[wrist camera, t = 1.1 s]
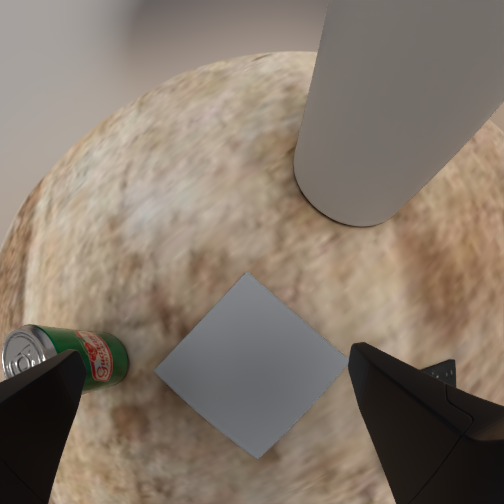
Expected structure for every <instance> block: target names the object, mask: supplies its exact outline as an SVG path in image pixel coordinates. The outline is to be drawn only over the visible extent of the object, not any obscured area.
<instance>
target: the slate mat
mask: <svg viewBox="0 0 504 504" xmlns="http://www.w3.org/2000/svg"><path fill="white" fill-rule="evenodd" d="M348 363H349V359H348V358H347V357H345V356H344V355H343V354H342V353H341V352H340V351H338V350H337V349H336V348H335V347H334V346H332V345H331V344H330V343H329V342H328V341H327V340H325V339H324V338H323V337H322V336H321V335H320V334H318V333H317V332H316V331H315V330H314V329H313V328H311V327H310V326H309V325H308V324H307V323H306V322H305V321H303V320H302V319H301V318H300V317H299V316H298V315H296V314H295V313H294V312H293V311H292V310H291V309H289V308H288V307H287V306H286V305H285V304H284V303H283V302H281V301H280V300H279V299H278V298H277V297H276V296H275V295H273V294H272V293H271V292H270V291H269V290H268V289H267V288H265V287H264V286H263V285H262V284H261V283H260V282H259V281H257V280H256V279H255V278H254V277H253V276H252V275H251V274H250V273H248V272H246V273H245V274H244V275H243V276H242V277H241V278H240V279H239V280H238V281H237V283H236V284H235V285H234V286H233V287H232V288H231V289H230V290H229V291H228V292H227V293H226V294H225V295H224V296H223V298H222V299H221V300H220V301H219V302H218V303H217V304H216V305H215V306H214V307H213V308H212V309H211V310H210V311H209V312H208V314H207V315H206V316H205V317H204V318H203V319H202V320H201V321H200V322H199V323H198V324H197V325H196V326H195V327H194V328H193V329H192V331H191V332H190V333H189V334H188V335H187V336H186V337H185V338H184V339H183V340H182V341H181V342H180V343H179V344H178V345H177V346H176V347H175V349H174V350H173V351H172V352H171V353H170V354H169V355H168V356H167V357H166V358H165V359H164V360H163V361H162V362H161V363H160V364H159V365H158V366H157V368H156V369H155V370H154V372H155V373H156V374H157V375H158V376H159V377H160V378H161V379H162V380H163V381H164V382H165V383H166V384H167V385H168V386H169V387H170V388H171V389H172V390H173V391H175V392H176V393H177V394H178V395H179V396H180V397H181V398H182V399H183V400H184V401H185V402H186V403H187V404H189V405H190V406H191V407H192V408H193V409H194V410H195V411H196V412H198V413H199V414H200V415H201V416H202V417H203V418H205V419H206V420H207V421H208V422H209V423H210V424H212V425H213V426H214V427H215V428H217V429H218V430H219V431H220V432H221V433H223V434H224V435H225V436H226V437H228V438H229V439H230V440H232V441H233V442H234V443H236V444H237V445H238V446H239V447H241V448H242V449H243V450H245V451H246V452H248V453H249V454H250V455H252V456H253V457H254V458H256V459H257V460H258V459H259V458H260V457H261V456H262V455H263V454H264V453H265V452H266V451H267V450H268V449H270V448H271V447H272V446H273V445H274V444H275V443H276V442H277V441H278V440H279V439H280V438H281V437H282V436H283V435H284V434H285V433H286V432H287V431H288V430H289V429H290V428H291V427H292V426H293V425H294V424H295V423H296V422H297V421H298V420H299V419H300V418H301V417H302V416H303V415H304V414H305V413H306V411H307V410H308V409H309V408H310V407H311V406H312V405H313V404H314V403H315V402H316V401H317V399H318V398H319V397H320V396H321V395H322V394H323V393H324V391H325V390H326V389H327V388H328V387H329V386H330V385H331V383H332V382H333V381H334V380H335V379H336V377H337V376H338V375H339V374H340V373H341V371H342V370H343V369H344V368H345V366H346V365H347V364H348Z"/></svg>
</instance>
